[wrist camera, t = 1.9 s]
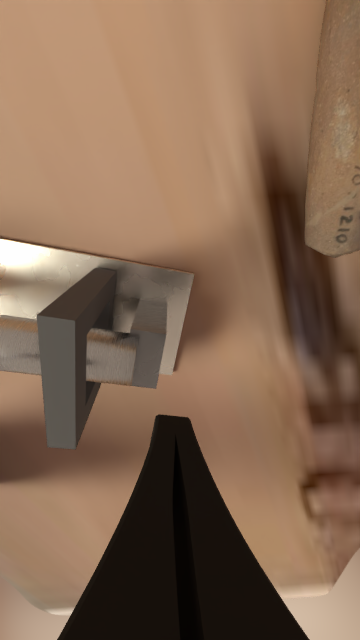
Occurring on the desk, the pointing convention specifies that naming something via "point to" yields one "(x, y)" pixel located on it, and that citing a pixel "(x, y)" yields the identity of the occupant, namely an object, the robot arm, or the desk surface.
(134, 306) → the rail
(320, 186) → the pipe
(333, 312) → the desk surface
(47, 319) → the collar
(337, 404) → the desk surface
